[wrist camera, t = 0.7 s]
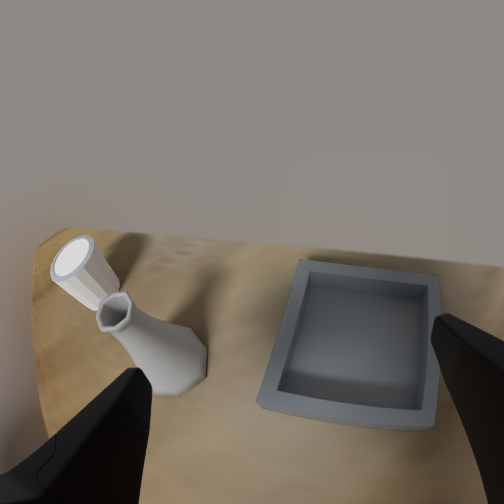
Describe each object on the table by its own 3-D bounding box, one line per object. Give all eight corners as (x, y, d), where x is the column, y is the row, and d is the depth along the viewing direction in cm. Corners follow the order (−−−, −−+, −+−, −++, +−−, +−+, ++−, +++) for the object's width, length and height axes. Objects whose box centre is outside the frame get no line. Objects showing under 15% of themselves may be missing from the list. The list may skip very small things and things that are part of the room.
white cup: (130, 294, 32) (98, 256, 27) (87, 325, 30) (51, 292, 25) (116, 261, 36) (89, 225, 31) (78, 289, 34) (48, 256, 29)
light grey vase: (136, 342, 27) (77, 288, 20) (198, 318, 28) (153, 253, 20) (147, 406, 22) (75, 370, 15) (218, 384, 23) (167, 338, 16)
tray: (420, 431, 16) (433, 426, 14) (262, 408, 21) (255, 401, 19) (430, 293, 24) (438, 275, 22) (301, 278, 29) (299, 259, 26)
